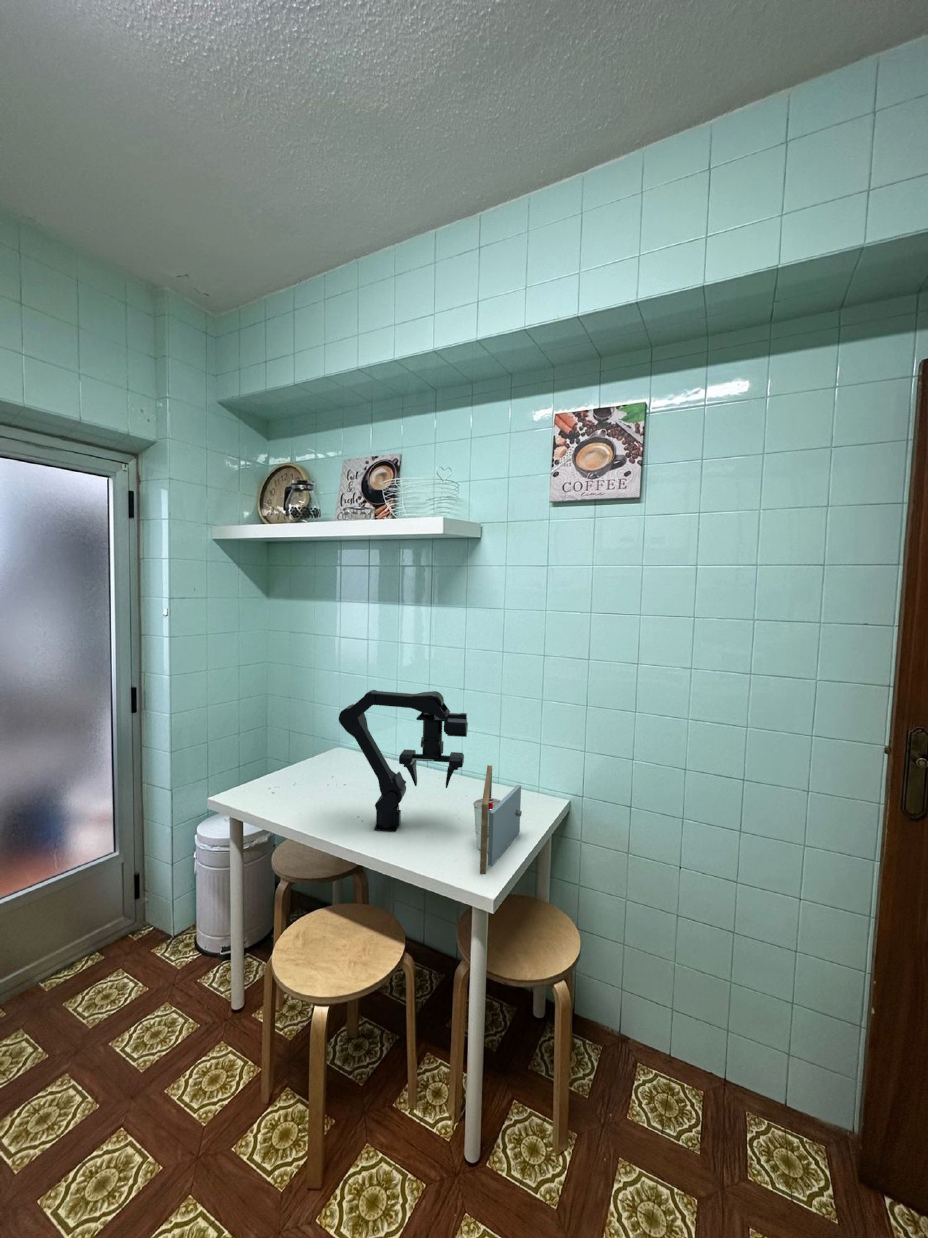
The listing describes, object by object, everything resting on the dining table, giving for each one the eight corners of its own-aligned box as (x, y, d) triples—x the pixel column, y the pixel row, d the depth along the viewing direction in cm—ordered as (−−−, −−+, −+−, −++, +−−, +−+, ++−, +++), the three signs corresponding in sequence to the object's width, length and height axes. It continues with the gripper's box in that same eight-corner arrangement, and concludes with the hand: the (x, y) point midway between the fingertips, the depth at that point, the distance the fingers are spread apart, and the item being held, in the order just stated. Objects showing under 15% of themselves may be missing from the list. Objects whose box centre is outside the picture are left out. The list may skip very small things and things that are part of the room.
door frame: (479, 874, 128) (481, 804, 127) (485, 822, 157) (487, 765, 156) (485, 874, 128) (487, 804, 127) (490, 822, 157) (492, 765, 156)
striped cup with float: (480, 836, 148) (479, 795, 148) (508, 840, 145) (507, 798, 145) (468, 852, 139) (467, 808, 139) (498, 856, 136) (497, 812, 136)
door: (487, 864, 132) (489, 812, 131) (515, 831, 151) (517, 785, 151) (496, 867, 131) (497, 814, 130) (523, 832, 150) (524, 786, 150)
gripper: (466, 729, 157) (464, 778, 158) (407, 726, 159) (406, 775, 160) (462, 739, 146) (461, 792, 147) (399, 736, 148) (398, 788, 149)
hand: (431, 786), depth 151 cm, fingers open, 9 cm apart
